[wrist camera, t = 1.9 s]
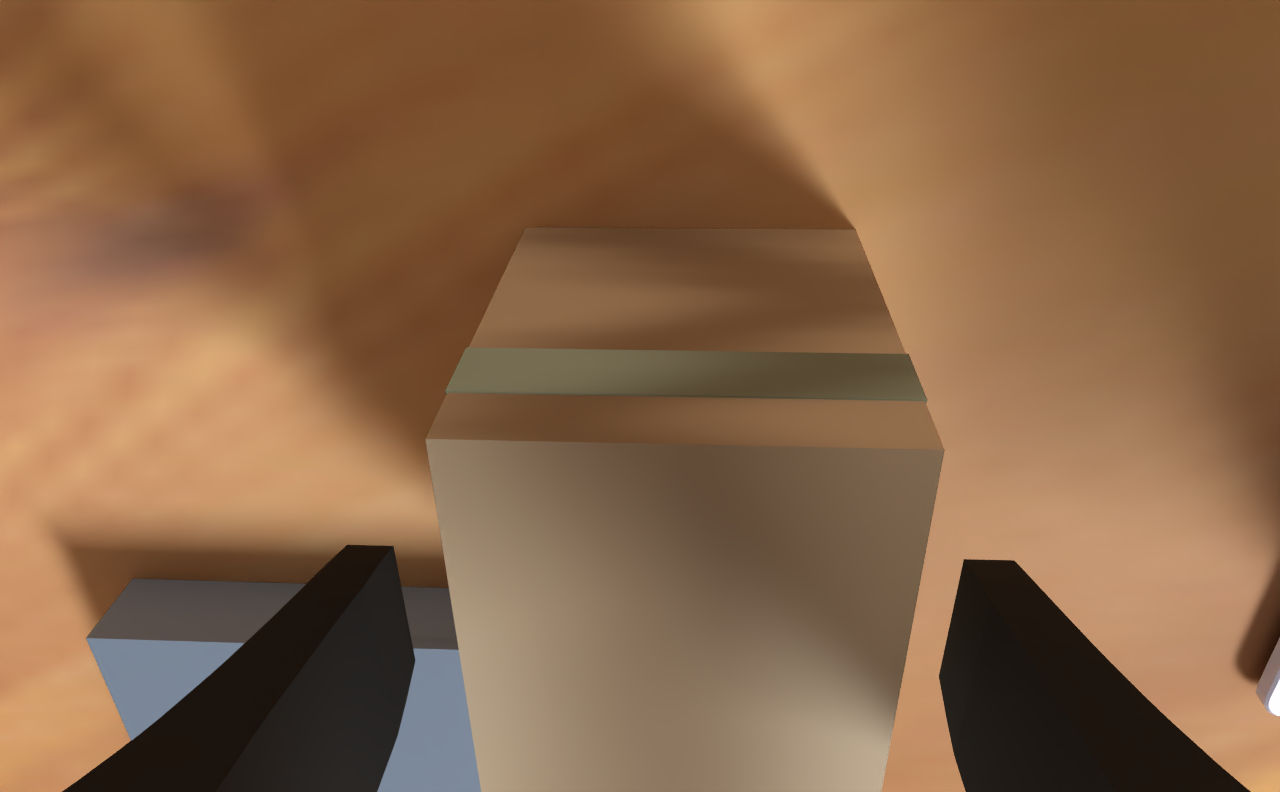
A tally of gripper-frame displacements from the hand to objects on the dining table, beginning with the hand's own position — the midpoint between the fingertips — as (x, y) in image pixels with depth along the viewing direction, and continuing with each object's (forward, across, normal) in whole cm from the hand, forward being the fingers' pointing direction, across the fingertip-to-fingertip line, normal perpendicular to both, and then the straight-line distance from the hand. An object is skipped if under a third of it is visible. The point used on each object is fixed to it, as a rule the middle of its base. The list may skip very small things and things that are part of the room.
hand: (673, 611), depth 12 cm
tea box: (+5, 0, 0) cm, 5 cm away
